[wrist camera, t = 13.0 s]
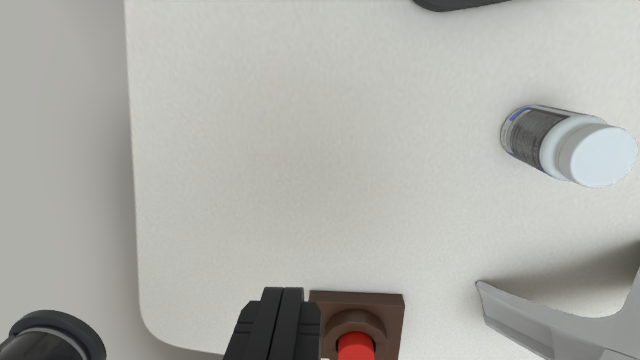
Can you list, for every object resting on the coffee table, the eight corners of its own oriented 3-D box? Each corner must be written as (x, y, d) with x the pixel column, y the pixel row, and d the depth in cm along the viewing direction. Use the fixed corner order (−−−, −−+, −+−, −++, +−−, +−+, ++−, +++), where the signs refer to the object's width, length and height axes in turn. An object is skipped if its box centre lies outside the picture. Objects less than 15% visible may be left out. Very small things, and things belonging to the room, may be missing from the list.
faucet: (751, 312, 27) (705, 541, 18) (537, 257, 41) (447, 371, 31) (759, 252, 25) (711, 475, 16) (531, 215, 39) (433, 324, 29)
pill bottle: (501, 163, 29) (564, 201, 21) (496, 112, 27) (562, 133, 19) (557, 150, 28) (644, 184, 20) (556, 97, 26) (648, 111, 18)
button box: (310, 345, 37) (307, 372, 34) (310, 290, 35) (307, 314, 31) (395, 349, 37) (400, 377, 34) (402, 294, 34) (408, 318, 31)
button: (337, 355, 34) (337, 370, 32) (338, 329, 32) (338, 343, 31) (371, 357, 33) (373, 372, 32) (373, 331, 32) (375, 345, 31)
